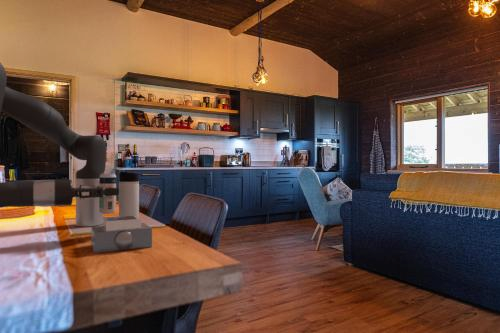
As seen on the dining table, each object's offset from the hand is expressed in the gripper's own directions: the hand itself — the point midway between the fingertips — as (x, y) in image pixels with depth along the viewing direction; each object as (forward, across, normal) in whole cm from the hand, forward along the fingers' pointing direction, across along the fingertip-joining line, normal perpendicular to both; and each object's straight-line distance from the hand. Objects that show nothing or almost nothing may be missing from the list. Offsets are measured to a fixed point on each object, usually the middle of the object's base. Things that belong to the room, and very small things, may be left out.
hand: (117, 191), depth 103 cm
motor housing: (-1, -14, +14) cm, 20 cm away
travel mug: (+4, +6, +14) cm, 16 cm away
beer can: (-3, 0, +7) cm, 7 cm away
